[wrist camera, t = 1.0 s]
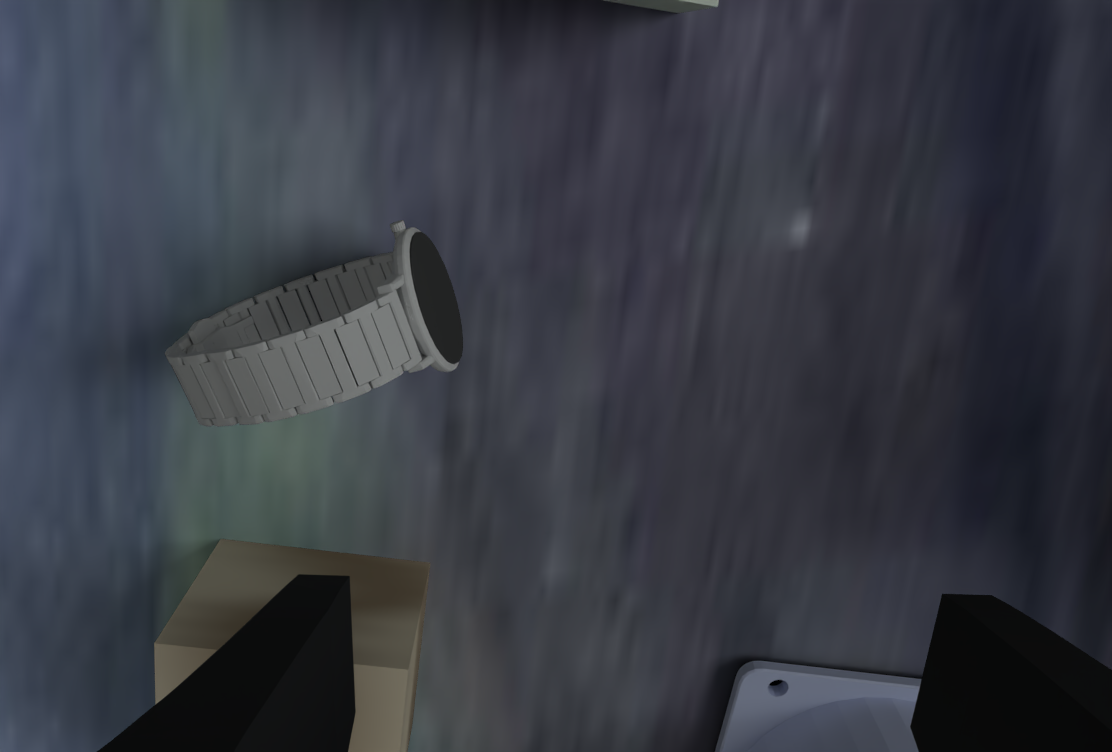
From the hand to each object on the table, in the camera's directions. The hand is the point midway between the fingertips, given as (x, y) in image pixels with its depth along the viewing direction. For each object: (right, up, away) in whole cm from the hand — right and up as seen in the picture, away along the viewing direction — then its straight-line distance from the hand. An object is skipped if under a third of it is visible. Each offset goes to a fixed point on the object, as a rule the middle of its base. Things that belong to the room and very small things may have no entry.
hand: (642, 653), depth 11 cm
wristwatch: (-6, +5, +8) cm, 11 cm away
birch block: (-7, -3, +11) cm, 14 cm away
